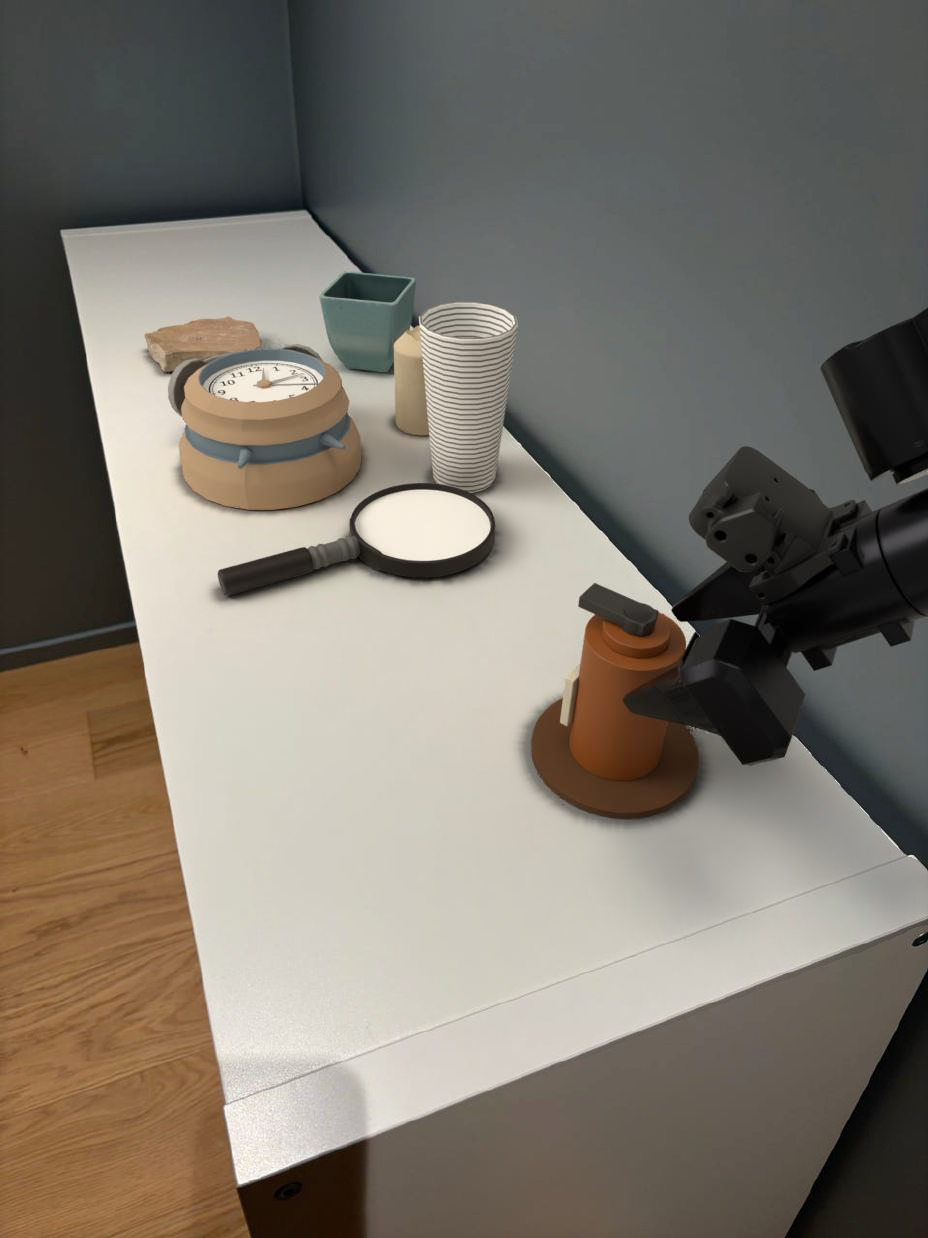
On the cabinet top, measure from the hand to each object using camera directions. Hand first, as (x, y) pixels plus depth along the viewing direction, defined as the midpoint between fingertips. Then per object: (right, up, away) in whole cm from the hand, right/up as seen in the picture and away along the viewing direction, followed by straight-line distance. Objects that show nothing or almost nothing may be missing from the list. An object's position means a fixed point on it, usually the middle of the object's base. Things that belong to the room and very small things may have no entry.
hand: (652, 657), depth 55 cm
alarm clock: (-31, +19, +36) cm, 51 cm away
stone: (-41, +33, +53) cm, 74 cm away
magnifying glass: (-20, +8, +23) cm, 31 cm away
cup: (-11, +16, +33) cm, 38 cm away
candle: (-16, +23, +41) cm, 50 cm away
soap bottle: (-1, -6, +6) cm, 9 cm away
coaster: (-1, -7, +6) cm, 9 cm away
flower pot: (-22, +32, +53) cm, 66 cm away
